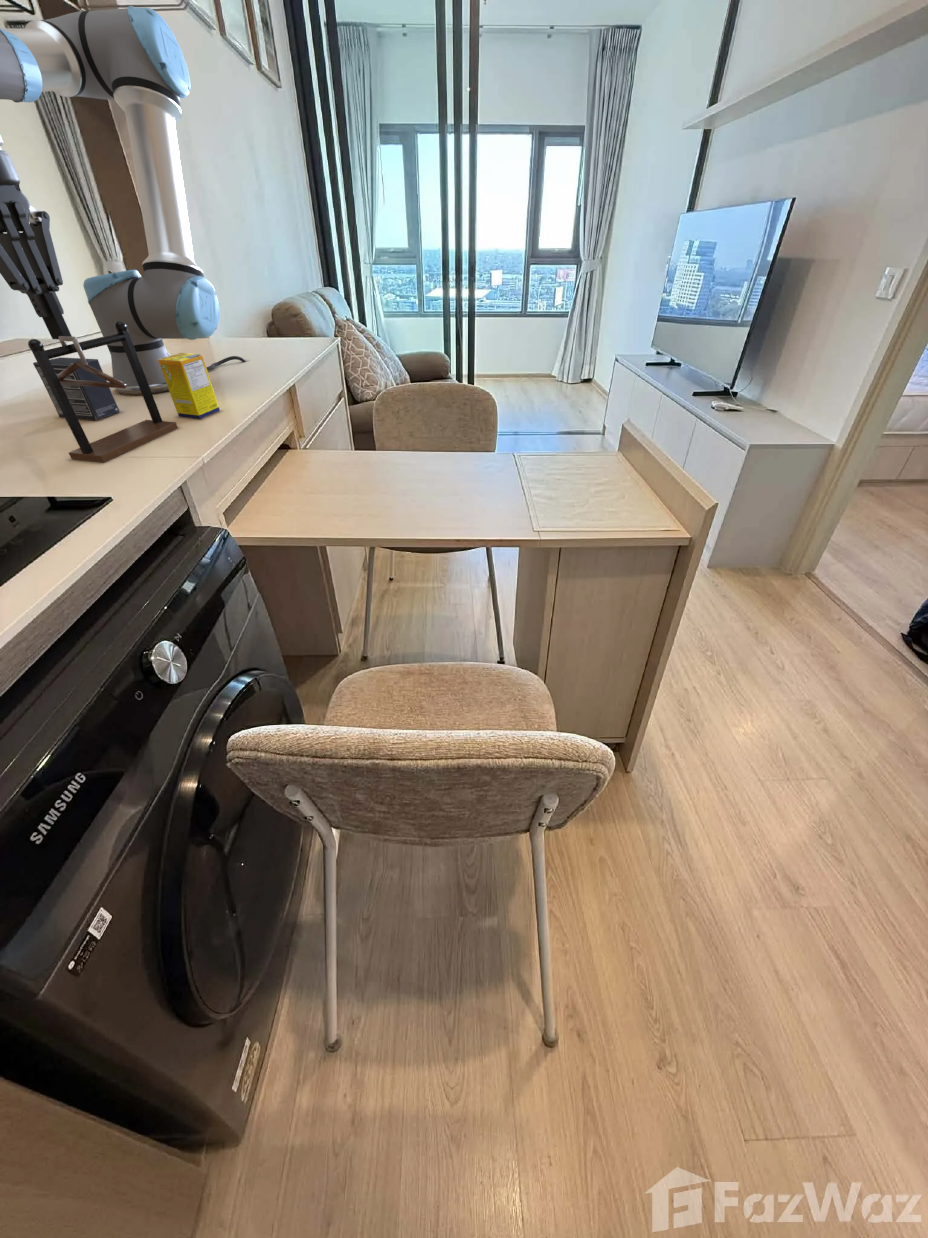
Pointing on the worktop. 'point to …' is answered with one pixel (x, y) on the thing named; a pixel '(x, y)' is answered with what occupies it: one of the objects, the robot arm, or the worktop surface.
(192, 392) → the supplement box
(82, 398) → the small box
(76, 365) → the hanger
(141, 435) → the clothes rail
